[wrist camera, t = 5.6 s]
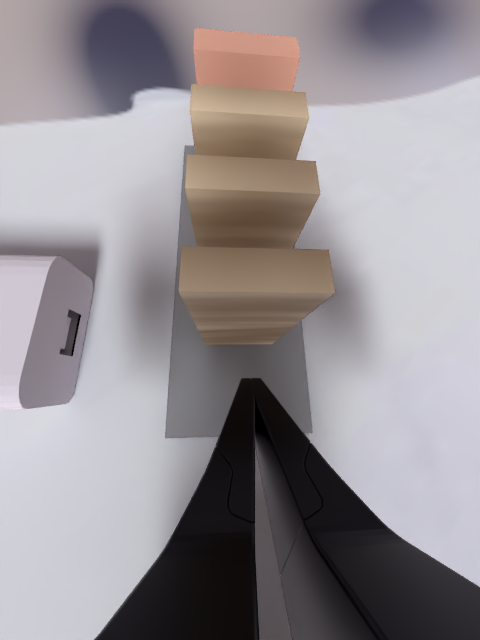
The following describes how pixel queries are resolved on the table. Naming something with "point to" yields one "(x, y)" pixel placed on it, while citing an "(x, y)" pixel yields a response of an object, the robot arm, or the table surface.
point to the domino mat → (225, 364)
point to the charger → (40, 329)
